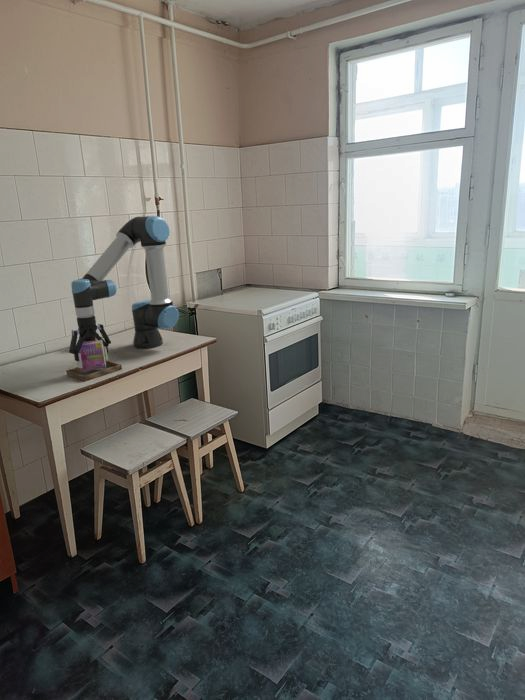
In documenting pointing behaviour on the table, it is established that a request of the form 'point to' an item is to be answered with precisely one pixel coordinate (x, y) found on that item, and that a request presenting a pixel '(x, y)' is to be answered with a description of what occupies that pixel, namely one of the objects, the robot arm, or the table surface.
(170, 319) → the robot arm
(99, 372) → the tray
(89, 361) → the box
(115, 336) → the table surface
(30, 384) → the table surface
